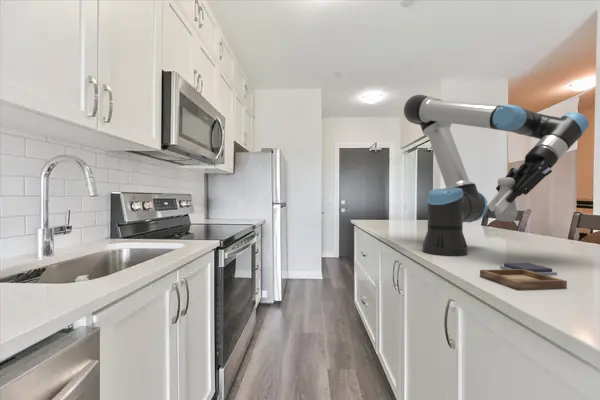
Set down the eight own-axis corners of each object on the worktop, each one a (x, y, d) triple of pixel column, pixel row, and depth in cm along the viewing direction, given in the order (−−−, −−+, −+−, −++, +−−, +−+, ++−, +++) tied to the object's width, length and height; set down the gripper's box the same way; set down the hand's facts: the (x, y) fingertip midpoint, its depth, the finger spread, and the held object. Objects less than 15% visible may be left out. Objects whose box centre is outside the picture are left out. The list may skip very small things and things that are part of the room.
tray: (479, 276, 82) (480, 269, 82) (522, 275, 84) (522, 268, 84) (517, 290, 70) (517, 282, 70) (566, 288, 72) (566, 280, 72)
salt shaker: (510, 220, 100) (511, 178, 100) (521, 221, 94) (522, 177, 94) (490, 219, 100) (491, 177, 100) (500, 221, 95) (501, 177, 94)
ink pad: (499, 268, 92) (499, 262, 92) (528, 267, 93) (528, 262, 93) (525, 275, 83) (525, 270, 83) (556, 274, 84) (557, 269, 84)
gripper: (578, 160, 91) (523, 219, 89) (530, 165, 107) (483, 215, 105) (562, 141, 90) (506, 200, 88) (516, 148, 106) (468, 199, 104)
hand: (494, 208), depth 97 cm, fingers closed on salt shaker, 3 cm apart
